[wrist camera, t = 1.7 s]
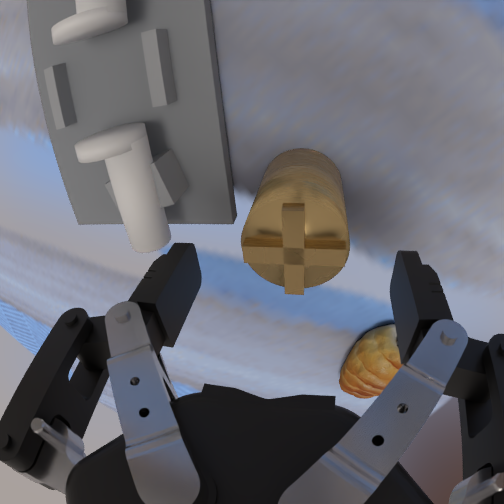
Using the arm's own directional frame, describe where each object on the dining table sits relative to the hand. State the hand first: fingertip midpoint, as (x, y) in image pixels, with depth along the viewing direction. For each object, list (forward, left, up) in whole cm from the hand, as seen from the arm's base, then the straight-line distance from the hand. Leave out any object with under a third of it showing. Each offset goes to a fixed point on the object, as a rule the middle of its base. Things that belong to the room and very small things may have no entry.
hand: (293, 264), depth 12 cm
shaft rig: (-8, -10, -7) cm, 14 cm away
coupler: (0, 0, -7) cm, 7 cm away
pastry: (+15, +7, -7) cm, 18 cm away
